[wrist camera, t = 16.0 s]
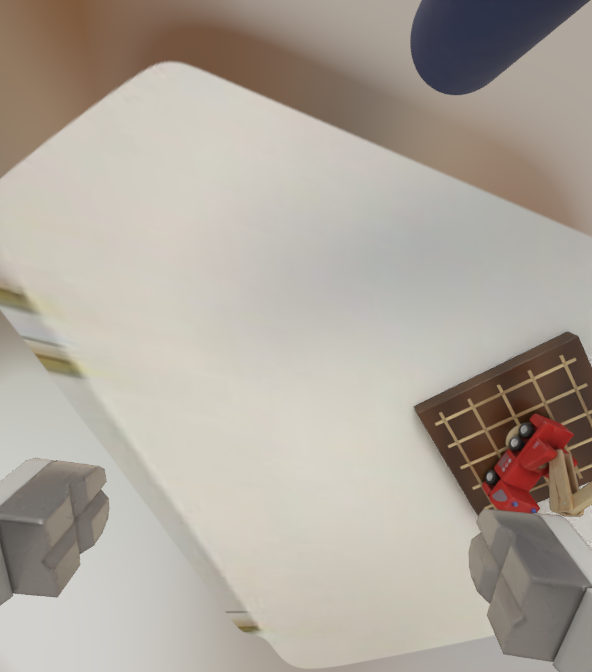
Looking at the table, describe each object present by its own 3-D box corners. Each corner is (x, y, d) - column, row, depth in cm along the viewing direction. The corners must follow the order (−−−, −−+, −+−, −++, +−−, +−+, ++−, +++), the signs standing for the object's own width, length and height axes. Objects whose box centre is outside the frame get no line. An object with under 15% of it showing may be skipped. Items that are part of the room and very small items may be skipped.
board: (567, 331, 34) (579, 336, 32) (622, 455, 38) (636, 466, 36) (413, 406, 37) (417, 414, 36) (477, 513, 41) (483, 525, 39)
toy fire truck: (475, 485, 38) (524, 570, 29) (553, 378, 34) (640, 436, 25) (503, 496, 38) (561, 584, 29) (584, 391, 34) (682, 454, 25)
